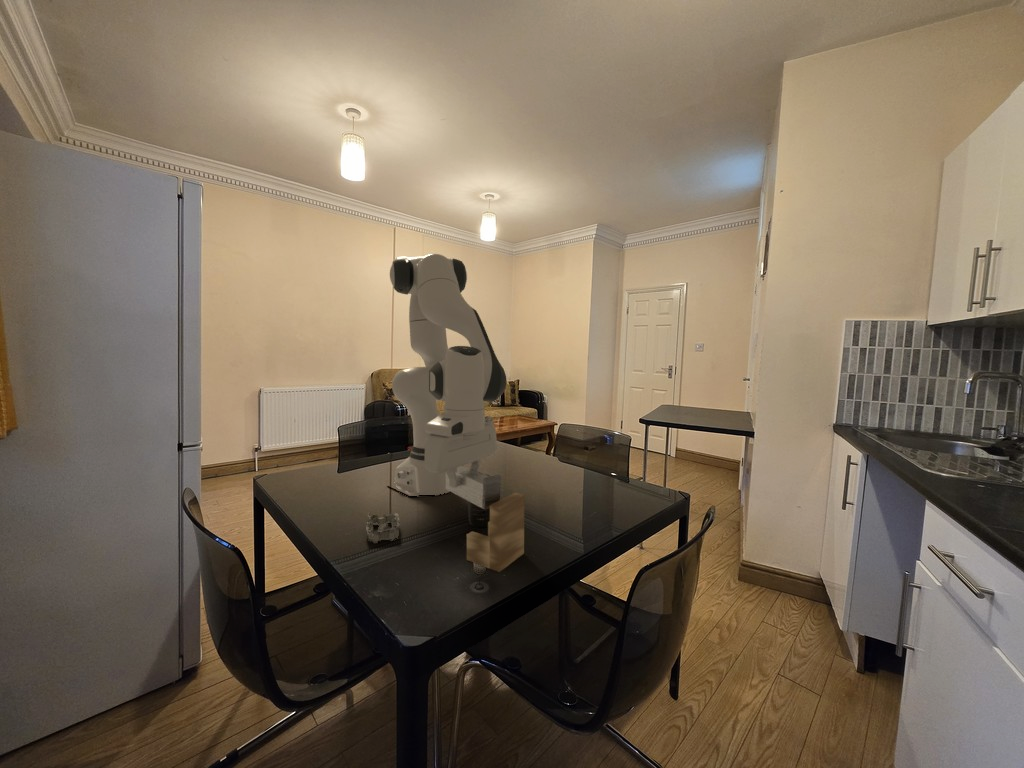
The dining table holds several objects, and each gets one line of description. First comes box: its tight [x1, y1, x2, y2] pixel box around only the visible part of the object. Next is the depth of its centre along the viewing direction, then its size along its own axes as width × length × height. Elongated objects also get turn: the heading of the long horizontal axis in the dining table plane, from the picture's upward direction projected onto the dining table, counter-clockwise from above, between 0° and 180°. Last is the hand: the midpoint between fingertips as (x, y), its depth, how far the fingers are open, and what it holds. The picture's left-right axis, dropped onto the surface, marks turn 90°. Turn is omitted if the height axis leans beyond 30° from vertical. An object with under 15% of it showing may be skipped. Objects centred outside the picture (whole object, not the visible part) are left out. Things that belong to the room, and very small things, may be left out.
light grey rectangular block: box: [446, 465, 502, 510], centre depth 86 cm, size 14×4×6 cm, turn 43°
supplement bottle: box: [468, 473, 492, 528], centre depth 102 cm, size 7×7×12 cm
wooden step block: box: [466, 492, 525, 573], centre depth 84 cm, size 8×9×13 cm
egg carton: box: [365, 511, 401, 541], centre depth 95 cm, size 11×8×4 cm
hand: (463, 482), depth 88 cm, fingers closed on light grey rectangular block, 4 cm apart
